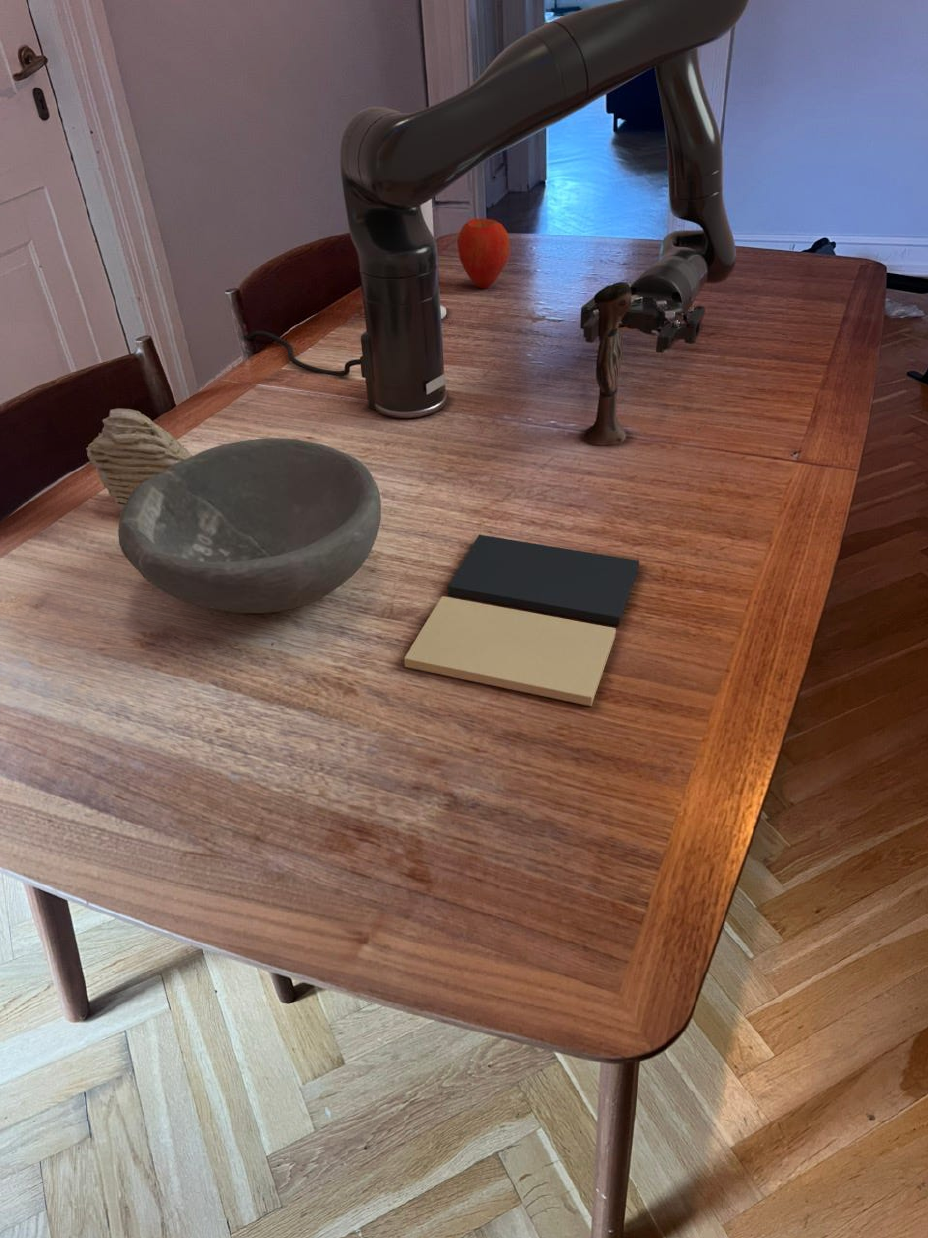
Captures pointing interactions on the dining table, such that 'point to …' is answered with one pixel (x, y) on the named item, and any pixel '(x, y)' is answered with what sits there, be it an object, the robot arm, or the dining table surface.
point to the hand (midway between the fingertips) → (623, 339)
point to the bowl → (253, 525)
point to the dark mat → (546, 579)
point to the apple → (483, 250)
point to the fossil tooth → (132, 452)
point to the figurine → (609, 363)
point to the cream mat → (513, 649)
